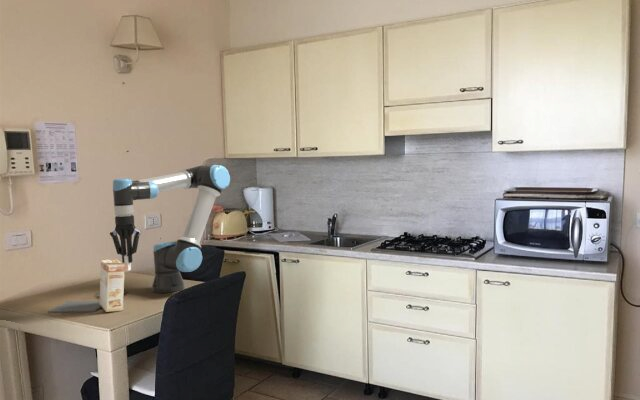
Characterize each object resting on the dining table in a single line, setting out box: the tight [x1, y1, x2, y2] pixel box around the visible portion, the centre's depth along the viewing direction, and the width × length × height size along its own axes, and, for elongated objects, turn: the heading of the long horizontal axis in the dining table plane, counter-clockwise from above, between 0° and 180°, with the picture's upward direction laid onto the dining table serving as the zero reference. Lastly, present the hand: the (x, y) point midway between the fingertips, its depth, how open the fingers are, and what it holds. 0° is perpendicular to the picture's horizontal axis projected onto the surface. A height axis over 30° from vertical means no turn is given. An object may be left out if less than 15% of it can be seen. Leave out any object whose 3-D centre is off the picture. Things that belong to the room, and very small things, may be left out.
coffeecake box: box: [98, 259, 125, 313], centre depth 221 cm, size 15×7×20 cm, turn 33°
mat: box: [48, 300, 103, 314], centre depth 225 cm, size 20×15×1 cm
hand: (128, 270), depth 220 cm, fingers closed
